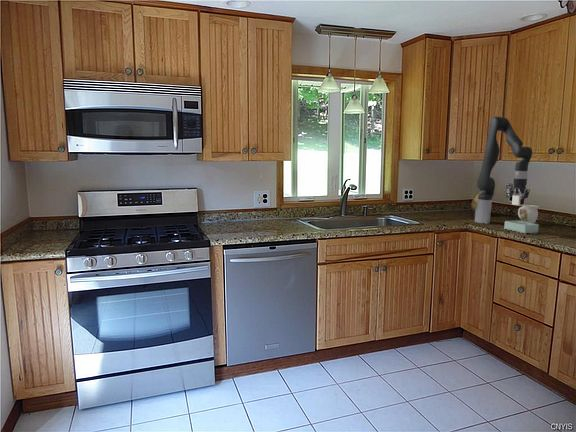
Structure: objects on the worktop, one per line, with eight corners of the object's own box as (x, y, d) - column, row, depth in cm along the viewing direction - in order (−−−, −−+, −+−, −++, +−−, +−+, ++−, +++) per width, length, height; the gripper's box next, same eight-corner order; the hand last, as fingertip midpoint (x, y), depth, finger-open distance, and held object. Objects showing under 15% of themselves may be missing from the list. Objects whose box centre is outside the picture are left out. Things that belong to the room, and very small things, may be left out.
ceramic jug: (481, 217, 324) (484, 179, 319) (466, 214, 338) (469, 178, 334) (496, 216, 331) (500, 179, 326) (481, 213, 345) (484, 178, 340)
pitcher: (523, 221, 308) (525, 203, 306) (543, 225, 291) (545, 206, 289) (511, 221, 306) (513, 203, 303) (530, 225, 288) (533, 206, 286)
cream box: (511, 204, 266) (512, 195, 266) (517, 204, 268) (518, 195, 267) (518, 205, 262) (519, 196, 261) (524, 205, 263) (525, 195, 263)
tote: (504, 229, 272) (504, 221, 271) (517, 228, 276) (517, 220, 275) (524, 233, 258) (525, 225, 257) (537, 232, 262) (538, 224, 261)
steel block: (520, 228, 270) (521, 221, 269) (526, 230, 266) (527, 222, 265) (514, 229, 269) (515, 221, 268) (520, 230, 264) (521, 223, 263)
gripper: (534, 178, 257) (532, 205, 259) (515, 177, 270) (513, 202, 273) (525, 178, 255) (523, 205, 257) (506, 177, 268) (504, 203, 270)
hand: (518, 204), depth 265 cm, fingers closed on cream box, 5 cm apart
